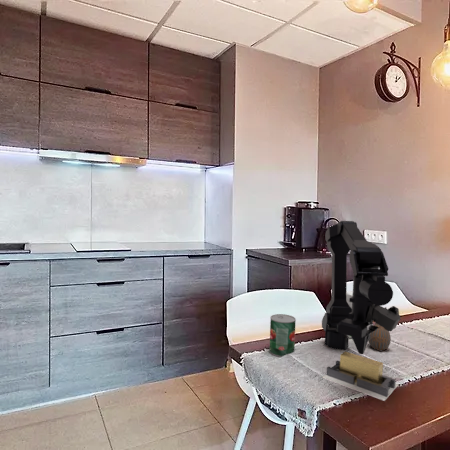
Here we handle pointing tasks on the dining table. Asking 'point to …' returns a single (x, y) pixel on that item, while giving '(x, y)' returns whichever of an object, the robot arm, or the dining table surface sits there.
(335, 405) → the dining table surface
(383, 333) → the brown egg-shaped piece
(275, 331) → the canned tomato
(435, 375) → the dining table surface
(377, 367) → the tan block
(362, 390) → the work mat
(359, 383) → the gray two-section tray
